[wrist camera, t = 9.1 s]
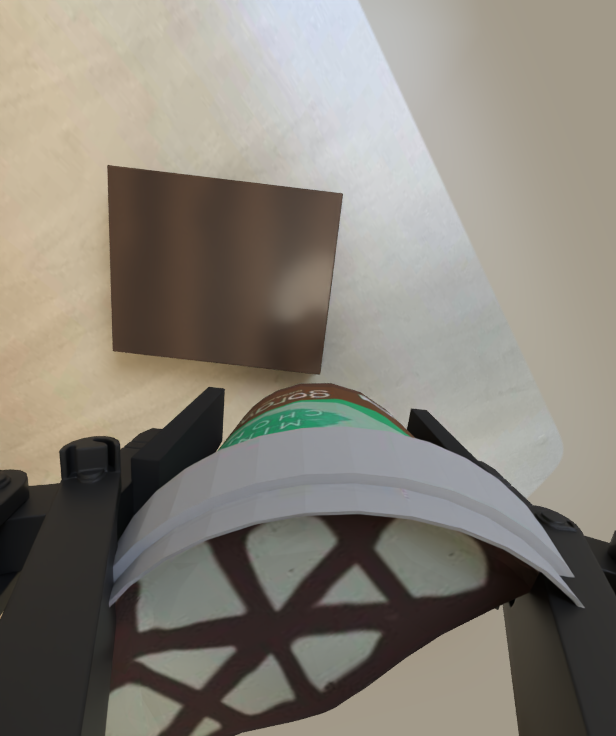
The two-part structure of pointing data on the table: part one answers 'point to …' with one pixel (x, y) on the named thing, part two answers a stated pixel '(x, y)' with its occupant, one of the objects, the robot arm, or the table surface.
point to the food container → (306, 567)
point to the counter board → (220, 269)
